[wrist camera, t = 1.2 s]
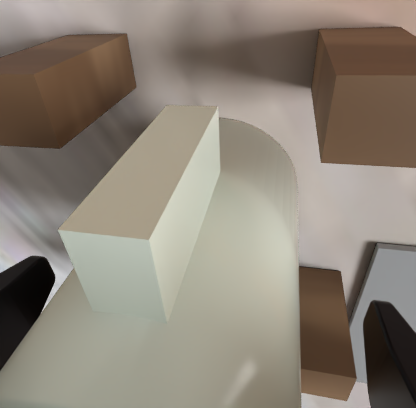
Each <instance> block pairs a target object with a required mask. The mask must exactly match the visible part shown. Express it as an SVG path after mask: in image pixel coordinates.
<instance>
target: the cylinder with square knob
mask: <svg viewBox="0 0 416 408" xmlns="http://www.w3.org/2000/svg"><path fill="white" fill-rule="evenodd" d="M58 232H59V234H60V237H61V239H62V241H63V243H64V246H65V248H66V250H67V253H68V255H69V257H70V260H71V262H72V264H73V267H74V269H73V270H72V271H71V273H70V274H69V276H68V277H67V278H66V280H65V281H64V283H63V284H62V285H61V287H60V288H59V290H58V291H57V292H56V294H55V295H54V296H53V298H52V299H51V301H50V302H49V303H48V305H47V306H46V308H45V309H44V310H43V312H42V313H41V315H40V316H39V317H38V319H37V320H36V322H35V323H34V324H33V326H32V327H31V329H30V330H29V331H28V333H27V334H26V336H25V337H24V338H23V340H22V341H21V343H20V344H19V345H18V347H17V348H16V350H15V351H14V352H13V354H12V355H11V357H10V358H9V359H8V361H7V362H6V364H5V365H4V366H3V368H2V369H1V371H0V408H301V362H300V301H299V240H298V184H297V176H296V172H295V169H294V166H293V164H292V162H291V159H290V158H289V156H288V155H287V153H286V151H285V150H284V149H283V148H282V147H281V145H280V144H279V143H278V142H277V141H276V140H274V139H273V138H272V137H271V136H270V135H268V134H267V133H265V132H264V131H262V130H260V129H258V128H256V127H254V126H253V125H250V124H247V123H244V122H241V121H237V120H232V119H223V118H219V116H218V106H177V105H167V106H166V107H165V108H164V109H163V110H162V111H161V113H160V114H159V115H158V116H157V117H156V118H155V119H154V121H153V122H152V123H151V124H150V125H149V126H148V127H147V128H146V130H145V131H144V132H143V133H142V134H141V135H140V136H139V138H138V139H137V140H136V141H135V142H134V143H133V144H132V146H131V147H130V148H129V149H128V150H127V151H126V152H125V154H124V155H123V156H122V157H121V158H120V159H119V160H118V162H117V163H116V164H115V165H114V166H113V167H112V168H111V170H110V171H109V172H108V173H107V174H106V175H105V176H104V178H103V179H102V180H101V181H100V182H99V183H98V184H97V186H96V187H95V188H94V189H93V190H92V191H91V192H90V194H89V195H88V196H87V197H86V198H85V199H84V200H83V202H82V203H81V204H80V205H79V206H78V207H77V208H76V210H75V211H74V212H73V213H72V214H71V215H70V216H69V217H68V219H67V220H66V221H65V222H64V223H63V224H62V225H61V227H60V228H59V229H58Z"/></svg>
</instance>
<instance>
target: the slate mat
mask: <svg viewBox="0 0 416 408" xmlns="http://www.w3.org/2000/svg"><path fill="white" fill-rule="evenodd" d="M372 300H380V301H387V302H390V303H392V304H393V305H394V307H395V308H396V309H397V310H398V311H399V313H400V314H401V315H402V316H403V318H404V319H405V320H406V321H407V323H408V324H409V325H410V326H411V327H412V329H413V330H414V331H415V332H416V247H414V246H404V245H394V244H384V243H377V245H376V247H375V250H374V253H373V256H372V259H371V262H370V265H369V267H368V270H367V273H366V276H365V279H364V282H363V285H362V287H361V290H360V293H359V296H358V299H357V302H356V305H355V307H354V310H353V313H352V316H351V319H350V322H349V330H350V336H351V343H352V350H353V356H354V363H355V369H356V376H357V379H356V382H362V383H367V375H366V362H365V349H364V336H363V320H364V317H365V315H366V312H367V310H368V307H369V304H370V302H371V301H372Z"/></svg>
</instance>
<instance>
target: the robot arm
mask: <svg viewBox="0 0 416 408" xmlns="http://www.w3.org/2000/svg"><path fill="white" fill-rule="evenodd" d="M54 283H55V274H54V272H53V270H52V268H51V266H50V264H49V262H48V260H47V259H46V258H45V257H41V256H30V257H28V258H26V259H24V260H23V261H21V262H19V263H17V264H16V265H14V266H12V267H10V268H8V269H7V270H5V271H3V272H1V273H0V371H1V369H2V368H3V366H4V365H5V364H6V362H7V361H8V359H9V358H10V357H11V355H12V354H13V352H14V351H15V350H16V348H17V347H18V345H19V344H20V343H21V341H22V340H23V338H24V337H25V336H26V334H27V333H28V331H29V330H30V329H31V327H32V326H33V324H34V323H35V322H36V320H37V319H38V317H39V316H40V314H41V312H42V309H43V307H44V305H45V303H46V301H47V298H48V296H49V294H50V292H51V289H52V287H53V285H54ZM363 336H364V349H365V362H366V375H367V386H368V394H369V400H370V406H371V408H416V332H415V331H414V330H413V329H412V327H411V326H410V325H409V324H408V323H407V321H406V320H405V319H404V318H403V316H402V315H401V314H400V313H399V311H398V310H397V309H396V308H395V307H394V305H393V304H392V303H390V302H387V301H380V300H372V301H371V302H370V304H369V307H368V310H367V312H366V315H365V317H364V320H363Z"/></svg>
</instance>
